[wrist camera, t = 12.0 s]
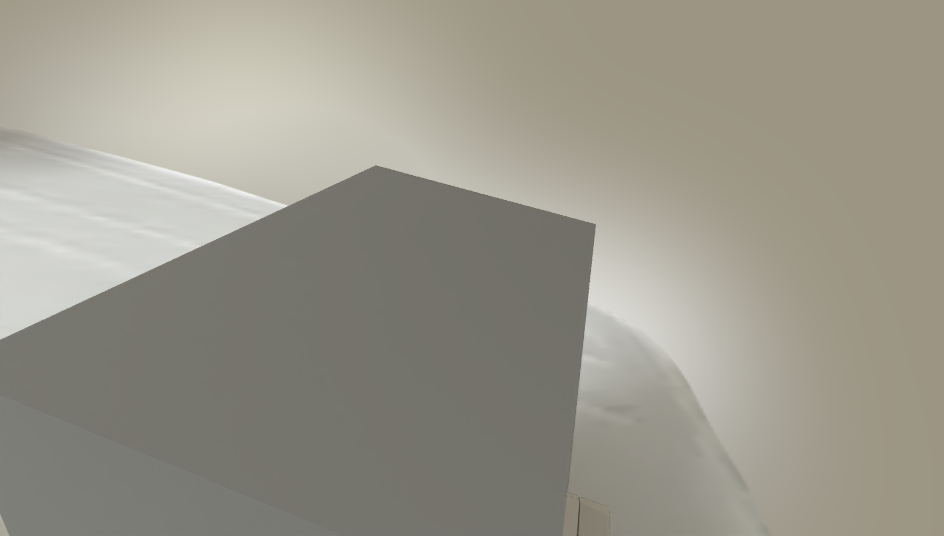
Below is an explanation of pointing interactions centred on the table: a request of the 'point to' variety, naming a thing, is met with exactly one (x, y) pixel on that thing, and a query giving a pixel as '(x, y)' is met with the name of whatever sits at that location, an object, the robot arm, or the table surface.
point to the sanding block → (313, 378)
